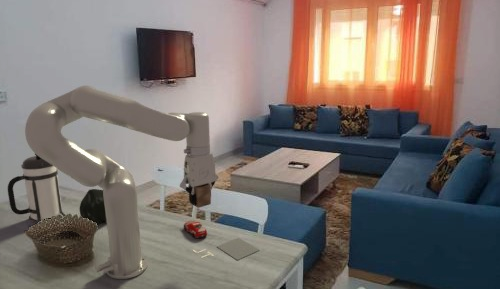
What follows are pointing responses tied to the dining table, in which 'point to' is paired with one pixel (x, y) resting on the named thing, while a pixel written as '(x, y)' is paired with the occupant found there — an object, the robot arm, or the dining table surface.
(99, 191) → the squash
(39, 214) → the coffee press
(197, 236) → the race car
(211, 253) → the card
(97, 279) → the dining table surface
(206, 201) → the walnut block
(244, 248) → the pad
